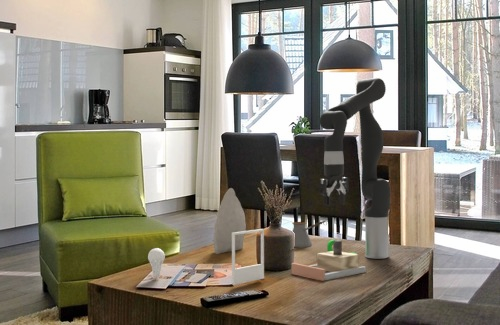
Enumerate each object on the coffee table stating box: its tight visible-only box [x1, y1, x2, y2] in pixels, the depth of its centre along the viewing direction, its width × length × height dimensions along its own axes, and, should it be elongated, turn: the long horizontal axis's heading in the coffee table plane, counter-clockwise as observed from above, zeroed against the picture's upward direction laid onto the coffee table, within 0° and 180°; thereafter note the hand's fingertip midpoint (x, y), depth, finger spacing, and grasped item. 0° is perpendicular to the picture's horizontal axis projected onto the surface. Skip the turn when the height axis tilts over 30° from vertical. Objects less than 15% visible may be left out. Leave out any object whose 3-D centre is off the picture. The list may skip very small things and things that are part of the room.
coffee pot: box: [292, 220, 328, 248], centre depth 278 cm, size 21×12×15 cm, turn 44°
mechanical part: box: [326, 239, 357, 254], centre depth 260 cm, size 12×6×8 cm, turn 99°
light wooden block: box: [316, 239, 359, 272], centre depth 233 cm, size 10×12×11 cm
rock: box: [212, 187, 247, 255], centre depth 268 cm, size 19×9×30 cm, turn 136°
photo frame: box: [231, 228, 265, 286], centre depth 216 cm, size 15×1×18 cm, turn 133°
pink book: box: [291, 262, 367, 282], centre depth 230 cm, size 24×16×4 cm
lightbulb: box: [147, 247, 166, 279], centre depth 222 cm, size 6×6×11 cm
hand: (334, 205), depth 235 cm, fingers open, 8 cm apart
